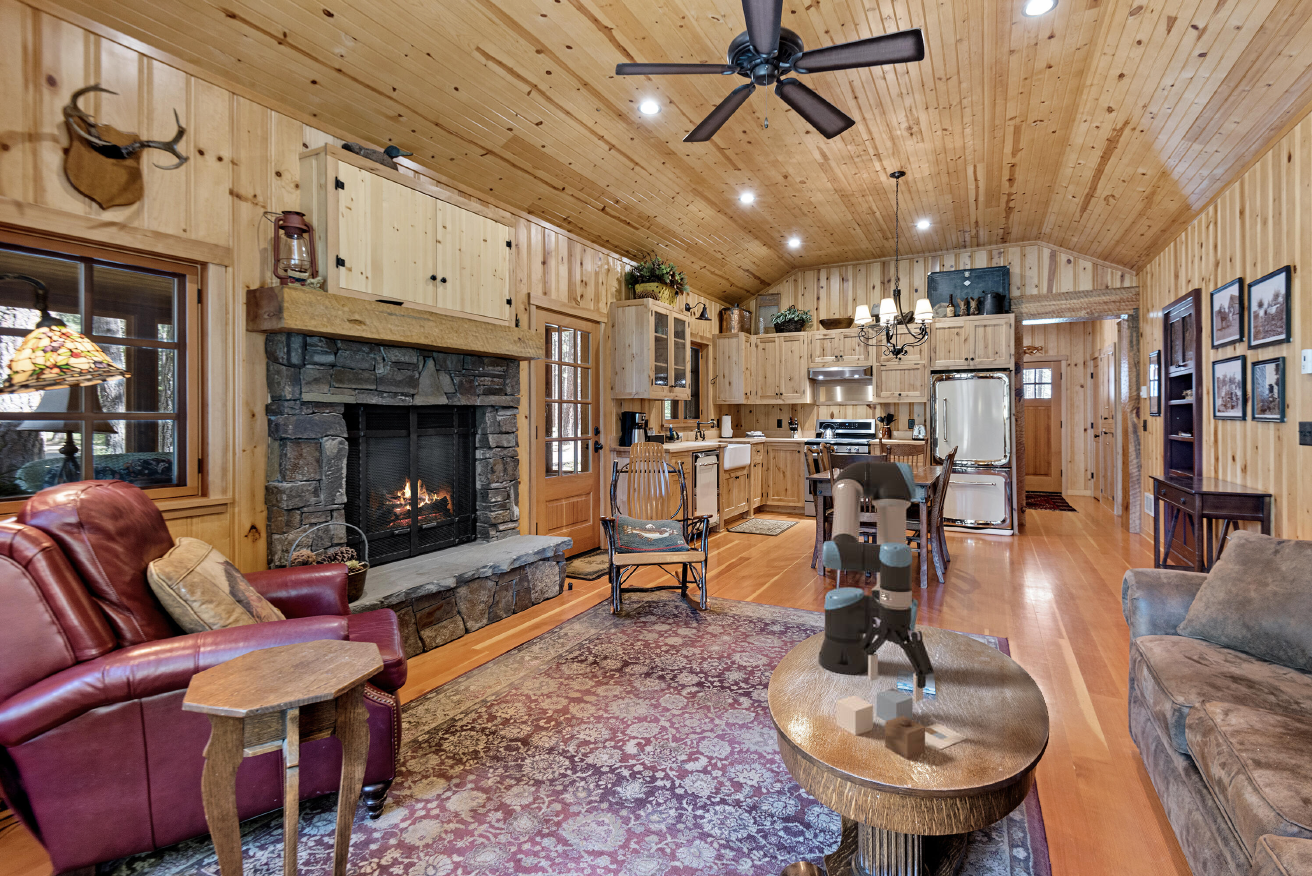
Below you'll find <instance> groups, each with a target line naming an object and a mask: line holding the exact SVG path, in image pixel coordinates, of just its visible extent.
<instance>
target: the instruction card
mask: <svg viewBox="0 0 1312 876" xmlns="http://www.w3.org/2000/svg"><path fill="white" fill-rule="evenodd" d="M924 727H925V744H926V743H927V744H929V745H931V747H934V748H936V749H938V750H939V751H941V750H943V749H946V748H948V747H951V746H952V745H955V744H958V743H959V742H962V741H965V740H967V739H968V737H967V736H964V735H962V734H961V733H958V732H956V731H954V730H952V729H950V728H948V727H946V726H944V725H942V724H940V723H938V722H936V723H933V724H931V725H928V726H924Z"/></svg>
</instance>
